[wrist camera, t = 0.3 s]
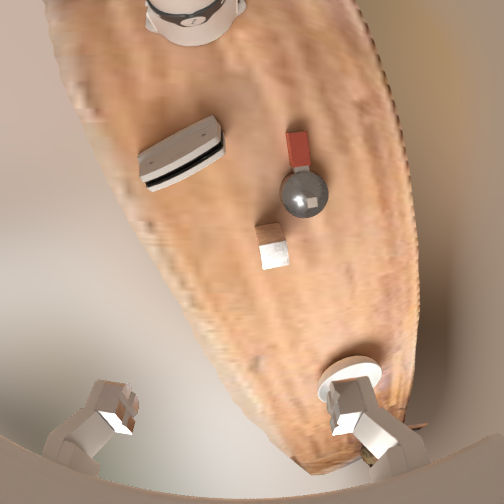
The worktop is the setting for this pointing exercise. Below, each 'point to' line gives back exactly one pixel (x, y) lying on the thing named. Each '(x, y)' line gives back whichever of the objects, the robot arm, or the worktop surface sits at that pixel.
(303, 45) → the worktop surface
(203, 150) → the grey black slotted block
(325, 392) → the serving bowl
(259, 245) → the grey block
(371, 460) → the ceramic jug
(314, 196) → the grey dome with handle
